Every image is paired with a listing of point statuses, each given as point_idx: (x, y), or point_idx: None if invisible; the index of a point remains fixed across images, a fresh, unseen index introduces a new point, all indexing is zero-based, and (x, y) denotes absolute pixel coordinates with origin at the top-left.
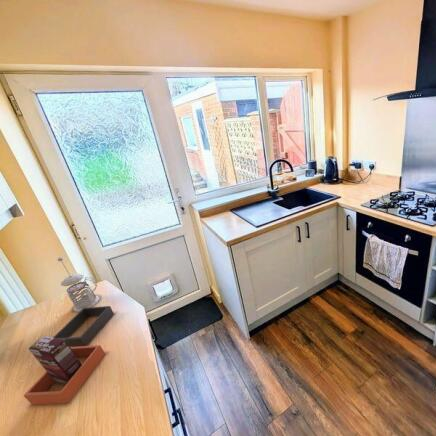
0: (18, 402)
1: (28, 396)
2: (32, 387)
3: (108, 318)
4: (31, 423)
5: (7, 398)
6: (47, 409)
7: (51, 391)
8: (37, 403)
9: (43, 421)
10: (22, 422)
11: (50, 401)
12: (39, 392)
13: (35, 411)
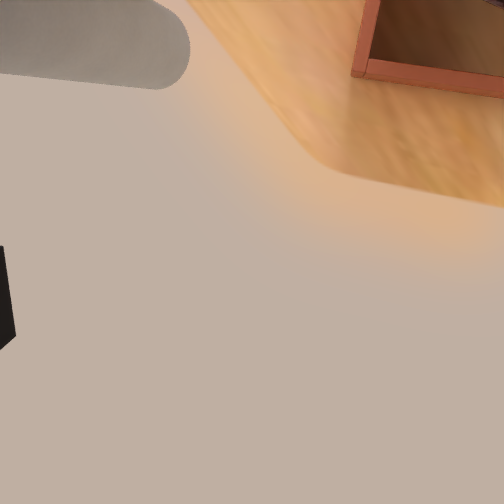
0: (279, 52)
1: (374, 74)
2: (371, 30)
3: None
4: (406, 160)
5: (211, 21)
6: (441, 113)
7: (498, 76)
8: (382, 80)
9: (454, 163)
10: (363, 148)
11: (453, 90)
12: (431, 69)
13: (389, 112)
